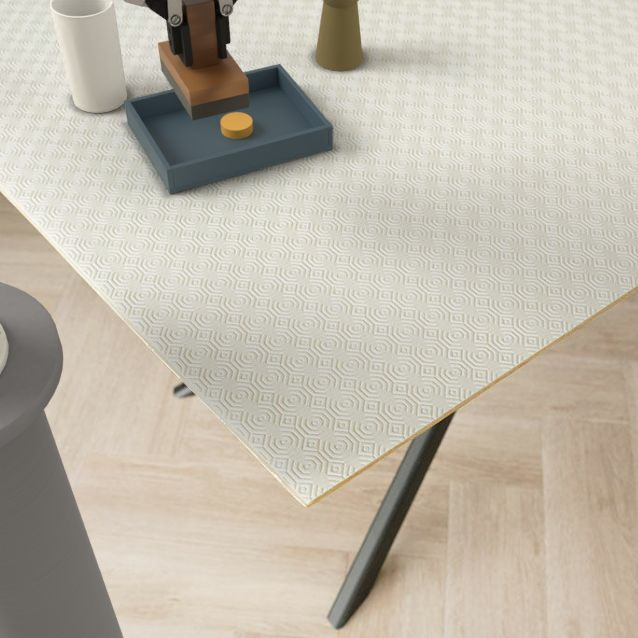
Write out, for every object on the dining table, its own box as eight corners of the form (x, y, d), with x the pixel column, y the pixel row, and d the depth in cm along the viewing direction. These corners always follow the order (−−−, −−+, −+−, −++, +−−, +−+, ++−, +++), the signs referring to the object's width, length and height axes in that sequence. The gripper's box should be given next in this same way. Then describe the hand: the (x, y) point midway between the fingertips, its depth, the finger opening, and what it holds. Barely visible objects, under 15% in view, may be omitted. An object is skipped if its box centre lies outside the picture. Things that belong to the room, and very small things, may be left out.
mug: (138, 105, 107) (123, 8, 98) (83, 121, 104) (62, 23, 96) (106, 65, 113) (88, -30, 104) (53, 79, 110) (31, -17, 101)
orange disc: (228, 142, 102) (227, 133, 101) (216, 125, 104) (215, 116, 103) (258, 134, 103) (257, 125, 102) (245, 118, 105) (245, 109, 104)
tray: (170, 194, 96) (166, 170, 94) (127, 124, 104) (123, 100, 102) (332, 149, 102) (333, 126, 100) (280, 86, 111) (280, 63, 108)
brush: (192, 121, 81) (181, 27, 75) (161, 71, 87) (148, -21, 80) (250, 107, 83) (244, 14, 76) (215, 59, 89) (207, -32, 82)
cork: (369, 66, 114) (374, -19, 106) (324, 74, 113) (325, -12, 105) (353, 42, 118) (356, -41, 110) (308, 49, 117) (308, -35, 108)
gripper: (85, -133, 64) (126, 96, 78) (296, -163, 69) (299, 57, 83) (59, -169, 69) (102, 53, 82) (259, -195, 74) (268, 19, 87)
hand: (201, 53), depth 82 cm, fingers closed on brush, 2 cm apart
